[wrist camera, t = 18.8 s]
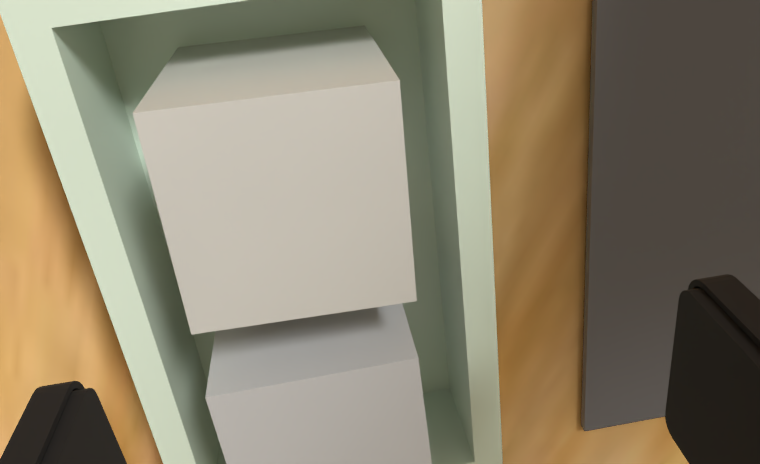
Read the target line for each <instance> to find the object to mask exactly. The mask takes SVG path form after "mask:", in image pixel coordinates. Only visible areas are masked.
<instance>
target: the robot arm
mask: <svg viewBox="0 0 760 464" xmlns="http://www.w3.org/2000/svg"><path fill="white" fill-rule="evenodd" d="M665 418H666V424H667V427H668V430H669V432H670V434H671V436H672V438H673V439H674V441H675V443H676V444H677V446H678V447H679V449H680V450H681V452H682V453H683V455H684V456H685V458H686V459H687V461H688V462H689V464H760V299H759V298H757V297H756V296H755V295H754V294H753V293H752V292H751V291H750V290H749V289H748V288H747V287H746V286H745V285H744V284H742V283H741V282H740V281H739V280H738V279H737V278H736V277H734V276H733V275H729V274H725V275H719V276H713V277H707V278H701V279H695V280H693V281H691V283H690V284H689V286H688V290H684V291H682V292H681V293H680V296H679V300H678V309H677V317H676V326H675V334H674V343H673V351H672V360H671V368H670V376H669V385H668V393H667V402H666V410H665ZM0 464H127V463H126V461H125V458H124V456H123V454H122V451H121V449H120V447H119V444H118V442H117V440H116V437H115V435H114V433H113V430H112V428H111V426H110V423H109V421H108V419H107V416H106V414H105V412H104V410H103V407H102V405H101V403H100V400H99V398H98V396H97V394H96V392H95V390H93V389H92V388H88V389H84V387H83V385H82V384H81V383H80V382H78V381H72V382H66V383H60V384H54V385H48V386H42V387H39V388H37V389H36V390H35V391H34V393H33V394H32V396H31V398H30V401H29V403H28V405H27V407H26V409H25V411H24V413H23V415H22V417H21V419H20V421H19V423H18V425H17V427H16V429H15V431H14V433H13V435H12V437H11V439H10V441H9V443H8V445H7V447H6V449H5V451H4V453H3V455H2V457H1V459H0Z"/></svg>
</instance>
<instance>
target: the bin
mask: <svg viewBox="0 0 760 464" xmlns="http://www.w3.org/2000/svg"><path fill="white" fill-rule="evenodd" d="M0 15H1V17H2V20H3V23H4V26H5V28H6V31H7V34H8V37H9V39H10V42H11V45H12V48H13V50H14V53H15V56H16V59H17V61H18V64H19V67H20V70H21V73H22V75H23V78H24V81H25V84H26V86H27V89H28V92H29V95H30V97H31V100H32V103H33V106H34V108H35V111H36V114H37V117H38V119H39V122H40V125H41V128H42V130H43V133H44V136H45V139H46V142H47V144H48V147H49V150H50V153H51V155H52V158H53V161H54V164H55V166H56V169H57V172H58V175H59V177H60V180H61V183H62V186H63V188H64V191H65V194H66V197H67V199H68V202H69V205H70V208H71V211H72V213H73V216H74V219H75V222H76V224H77V227H78V230H79V233H80V235H81V238H82V241H83V244H84V246H85V249H86V252H87V255H88V257H89V260H90V263H91V266H92V268H93V271H94V274H95V277H96V280H97V282H98V285H99V288H100V291H101V293H102V296H103V299H104V302H105V304H106V307H107V310H108V313H109V315H110V318H111V321H112V324H113V326H114V329H115V332H116V335H117V337H118V340H119V343H120V346H121V349H122V351H123V354H124V357H125V360H126V362H127V365H128V368H129V371H130V373H131V376H132V379H133V382H134V384H135V387H136V390H137V393H138V395H139V398H140V401H141V404H142V406H143V409H144V412H145V415H146V418H147V420H148V423H149V426H150V429H151V431H152V434H153V437H154V440H155V442H156V445H157V448H158V451H159V453H160V456H161V459H162V462H163V464H226V461H225V458H224V455H223V452H222V449H221V445H220V442H219V439H218V436H217V433H216V430H215V427H214V424H213V420H212V417H211V414H210V411H209V408H208V405H207V402H206V399H205V396H206V390H207V383H208V376H209V370H210V363H211V357H212V350H213V344H214V337H215V331H213V332H206V333H200V334H193V335H191V331H190V328H189V324H188V320H187V316H186V312H185V309H184V305H183V301H182V297H181V294H180V290H179V286H178V282H177V279H176V275H175V271H174V267H173V264H172V260H171V256H170V252H169V249H168V245H167V241H166V237H165V234H164V230H163V226H162V222H161V218H160V215H159V211H158V207H157V203H156V200H155V196H154V192H153V188H152V185H151V181H150V177H149V173H148V170H147V166H146V162H145V158H144V155H143V151H142V147H141V143H140V140H139V136H138V132H137V128H136V125H135V121H134V117H133V112H134V110H135V109H136V107H137V106H138V104H139V103H140V101H141V100H142V99H143V97H144V96H145V94H146V93H147V91H148V90H149V88H150V87H151V86H152V84H153V83H154V81H155V80H156V78H157V77H158V75H159V74H160V73H161V71H162V70H163V68H164V67H165V65H166V64H167V62H168V61H169V60H170V58H171V57H172V55H173V54H174V52H175V51H176V49H177V48H178V47H185V46H193V45H202V44H210V43H219V42H227V41H236V40H245V39H253V38H262V37H270V36H279V35H287V34H296V33H304V32H313V31H321V30H330V29H339V28H347V27H356V26H364V25H365V27H366V28H367V30H368V31H369V33H370V34H371V36H372V38H373V39H374V41H375V42H376V44H377V45H378V47H379V48H380V50H381V52H382V53H383V55H384V56H385V58H386V59H387V61H388V63H389V64H390V66H391V67H392V69H393V70H394V72H395V73H396V75H397V77H398V78H399V80H400V90H401V103H402V116H403V128H404V141H405V154H406V167H407V180H408V193H409V206H410V219H411V231H412V244H413V257H414V270H415V283H416V296H417V301H415V302H408V303H402V304H403V307H404V311H405V314H406V318H407V321H408V324H409V328H410V331H411V335H412V338H413V341H414V345H415V348H416V351H417V355H418V358H419V366H420V374H421V382H422V390H423V398H424V406H425V414H426V421H427V429H428V437H429V445H430V453H431V461H432V464H503V457H502V435H501V413H500V391H499V369H498V346H497V324H496V302H495V280H494V258H493V236H492V214H491V192H490V170H489V148H488V126H487V104H486V82H485V60H484V38H483V15H482V0H0Z"/></svg>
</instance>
